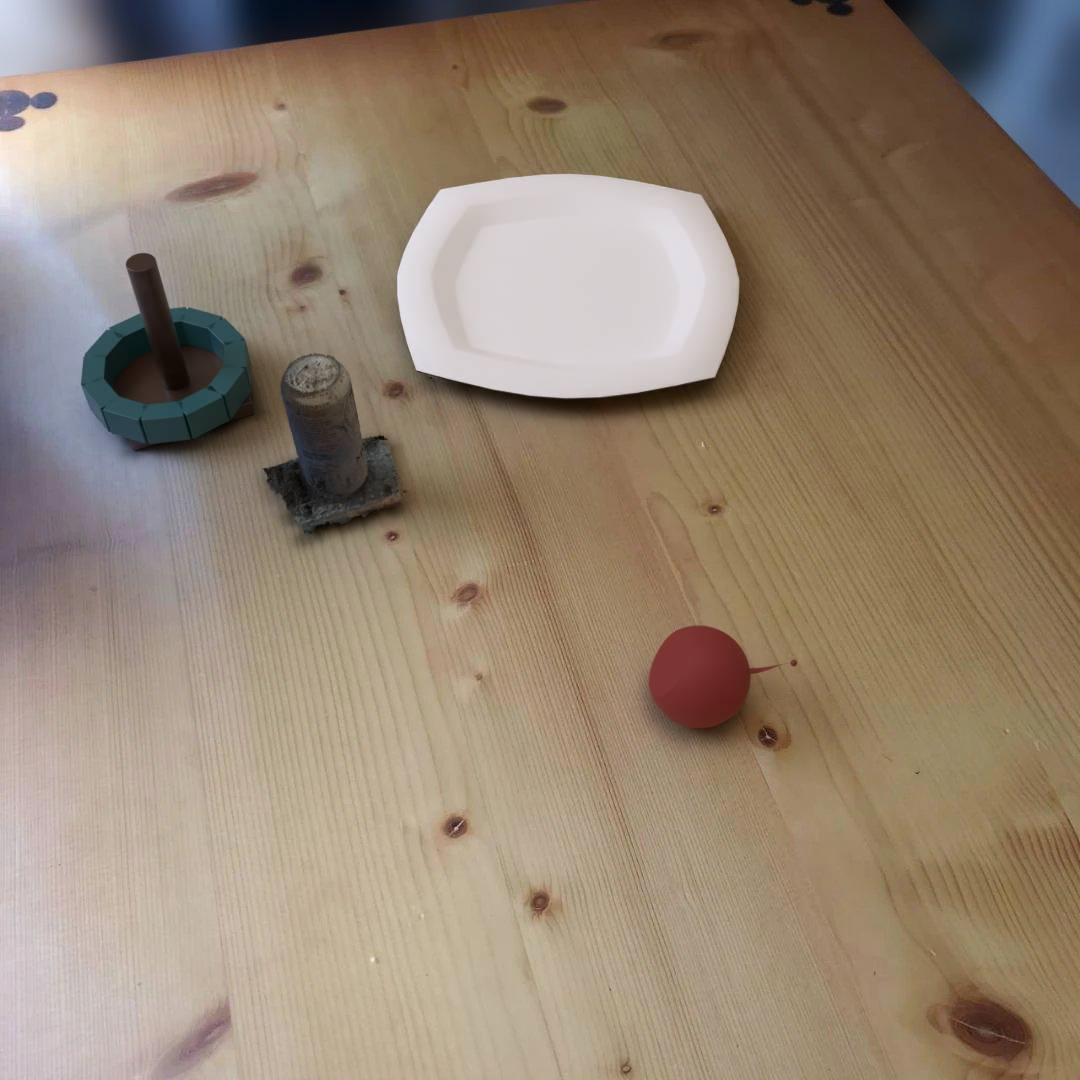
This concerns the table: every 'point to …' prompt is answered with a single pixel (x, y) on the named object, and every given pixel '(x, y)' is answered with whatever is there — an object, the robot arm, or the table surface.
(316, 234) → the table surface
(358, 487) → the can on ragged base
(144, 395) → the post
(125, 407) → the ring
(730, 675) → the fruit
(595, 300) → the plate
